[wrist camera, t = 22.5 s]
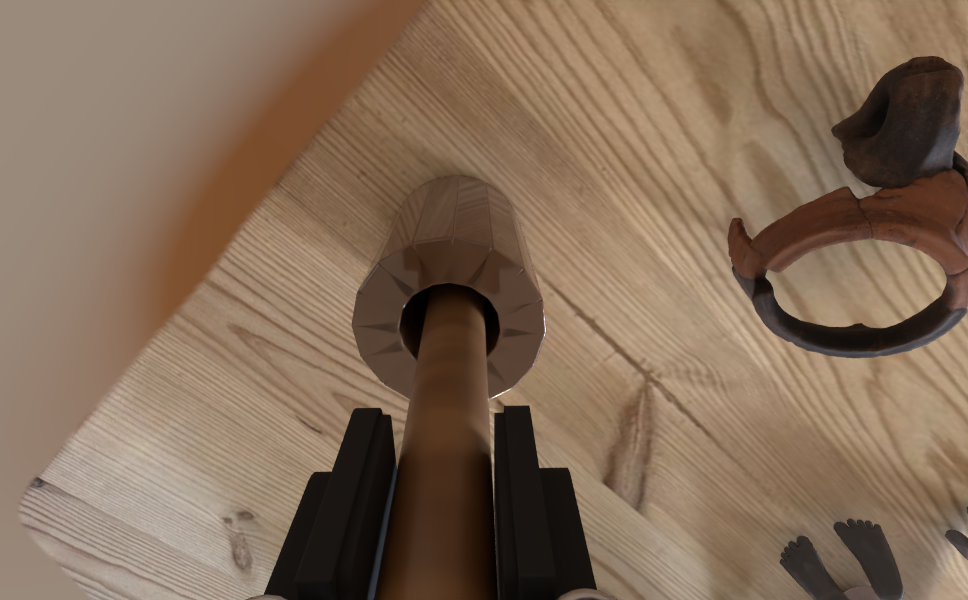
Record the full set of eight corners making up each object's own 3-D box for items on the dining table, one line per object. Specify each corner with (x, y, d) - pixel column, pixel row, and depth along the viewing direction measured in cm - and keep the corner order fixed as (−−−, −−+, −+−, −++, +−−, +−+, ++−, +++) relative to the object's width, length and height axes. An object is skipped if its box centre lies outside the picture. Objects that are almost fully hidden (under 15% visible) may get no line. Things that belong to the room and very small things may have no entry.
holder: (366, 218, 24) (312, 300, 16) (479, 149, 23) (483, 200, 15) (437, 317, 26) (422, 433, 18) (543, 260, 25) (577, 357, 17)
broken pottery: (932, 258, 26) (973, 386, 21) (727, 254, 30) (719, 359, 25) (1034, -1, 18) (1140, 97, 13) (740, 41, 22) (732, 129, 17)
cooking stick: (430, 236, 24) (302, 790, 6) (466, 215, 23) (449, 739, 5) (453, 270, 25) (401, 851, 7) (488, 250, 24) (537, 810, 6)
